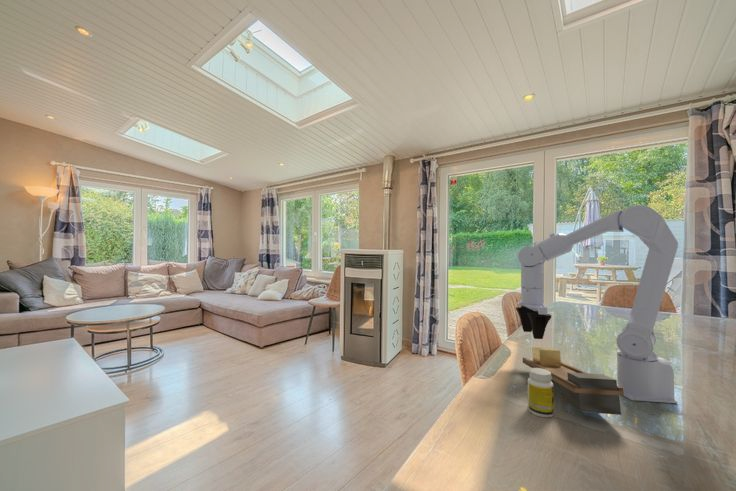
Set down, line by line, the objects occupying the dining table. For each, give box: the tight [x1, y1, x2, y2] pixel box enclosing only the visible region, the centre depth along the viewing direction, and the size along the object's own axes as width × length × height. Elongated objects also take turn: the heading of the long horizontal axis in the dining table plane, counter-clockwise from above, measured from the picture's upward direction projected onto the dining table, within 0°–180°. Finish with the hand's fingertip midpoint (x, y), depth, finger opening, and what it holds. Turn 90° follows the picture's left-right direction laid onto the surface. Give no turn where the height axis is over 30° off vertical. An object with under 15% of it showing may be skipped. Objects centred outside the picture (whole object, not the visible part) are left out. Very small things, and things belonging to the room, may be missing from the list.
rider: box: [531, 346, 562, 367], centre depth 81 cm, size 5×5×4 cm
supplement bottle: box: [527, 367, 555, 418], centre depth 63 cm, size 5×5×8 cm
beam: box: [522, 357, 625, 416], centre depth 72 cm, size 9×28×6 cm, turn 172°
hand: (532, 335), depth 88 cm, fingers open, 7 cm apart
